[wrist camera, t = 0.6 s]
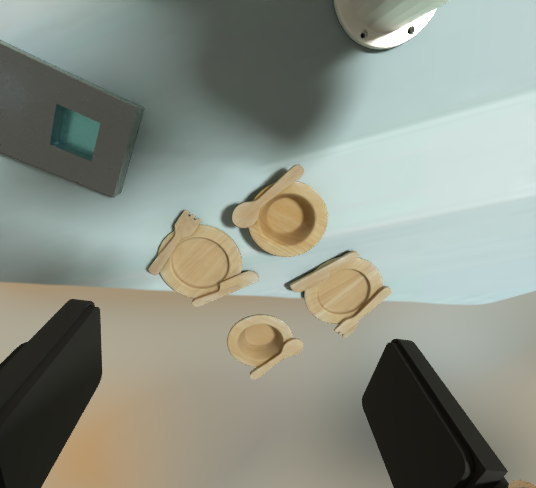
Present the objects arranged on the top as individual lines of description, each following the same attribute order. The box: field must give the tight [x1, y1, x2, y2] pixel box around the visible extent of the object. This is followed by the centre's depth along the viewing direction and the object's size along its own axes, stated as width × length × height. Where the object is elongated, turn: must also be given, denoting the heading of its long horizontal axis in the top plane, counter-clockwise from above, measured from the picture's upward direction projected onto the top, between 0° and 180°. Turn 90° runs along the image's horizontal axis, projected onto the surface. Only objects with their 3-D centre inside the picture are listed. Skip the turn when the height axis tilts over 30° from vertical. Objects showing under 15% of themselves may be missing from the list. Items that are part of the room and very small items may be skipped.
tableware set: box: [148, 165, 391, 380], centre depth 47 cm, size 35×29×4 cm
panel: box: [0, 40, 144, 197], centre depth 35 cm, size 12×24×2 cm, turn 65°
